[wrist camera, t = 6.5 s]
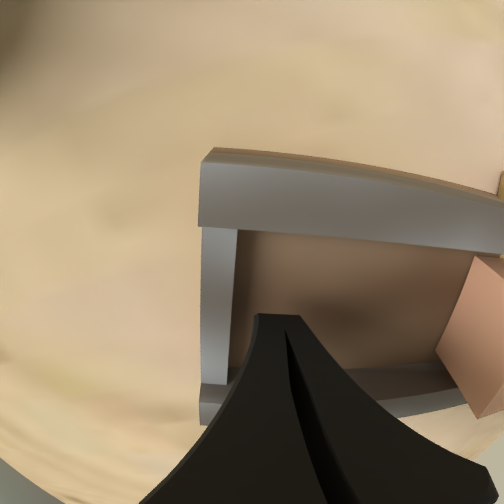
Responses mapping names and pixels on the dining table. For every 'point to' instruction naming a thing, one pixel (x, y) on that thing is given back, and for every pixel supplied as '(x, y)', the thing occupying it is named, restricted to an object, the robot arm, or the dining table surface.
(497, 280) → the salmon orange block
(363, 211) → the grey rectangular tray
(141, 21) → the dining table surface
